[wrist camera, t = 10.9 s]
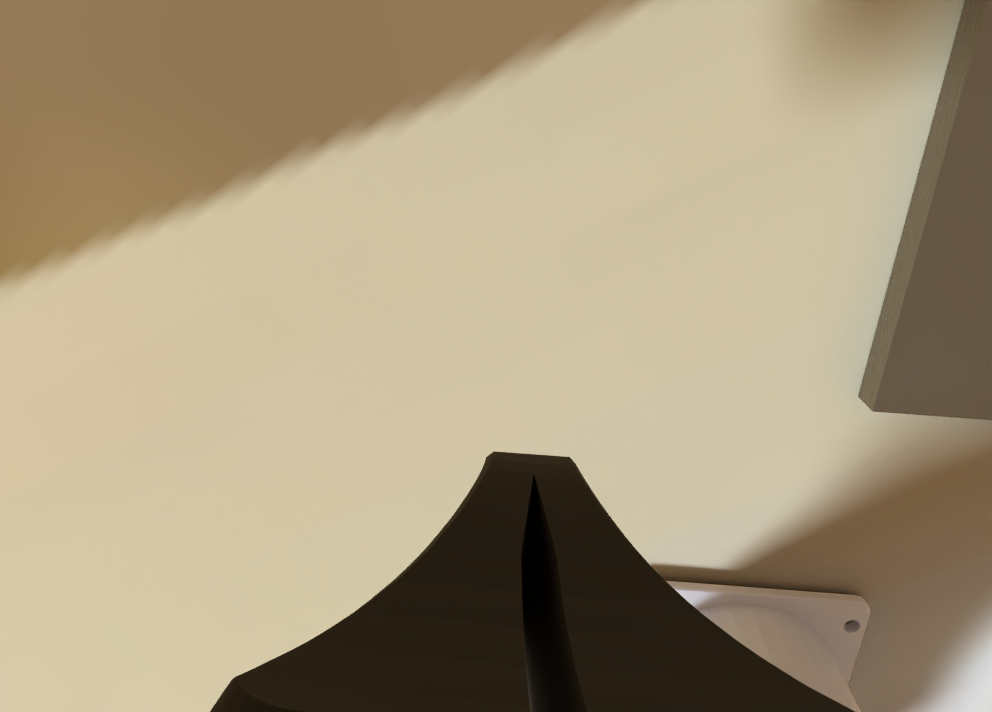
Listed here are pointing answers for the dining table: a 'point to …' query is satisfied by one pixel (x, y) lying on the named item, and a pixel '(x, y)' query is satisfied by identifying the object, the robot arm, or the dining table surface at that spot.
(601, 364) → the dining table surface
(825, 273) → the dining table surface
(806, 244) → the dining table surface
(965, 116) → the jig
